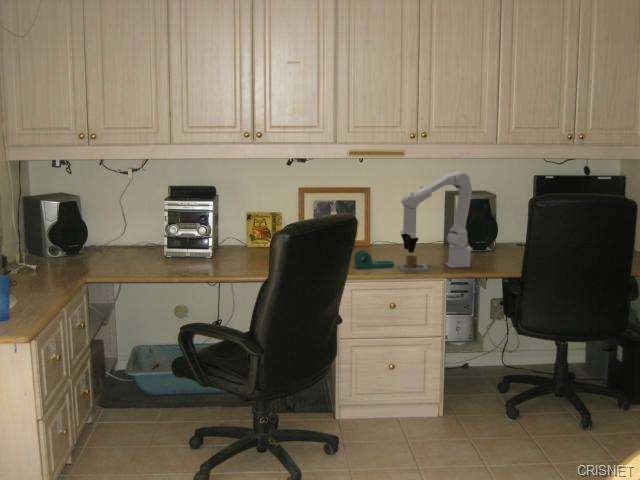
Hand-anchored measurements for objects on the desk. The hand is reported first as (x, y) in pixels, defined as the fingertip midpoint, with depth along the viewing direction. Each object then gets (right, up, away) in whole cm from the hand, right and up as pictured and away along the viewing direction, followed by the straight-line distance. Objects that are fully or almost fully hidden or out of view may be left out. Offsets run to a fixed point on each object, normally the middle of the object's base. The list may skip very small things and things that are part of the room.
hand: (409, 250), depth 316 cm
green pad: (+8, -7, +10) cm, 15 cm away
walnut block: (+1, -9, +2) cm, 9 cm away
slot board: (+2, -8, +2) cm, 9 cm away
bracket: (-15, -8, +7) cm, 18 cm away
